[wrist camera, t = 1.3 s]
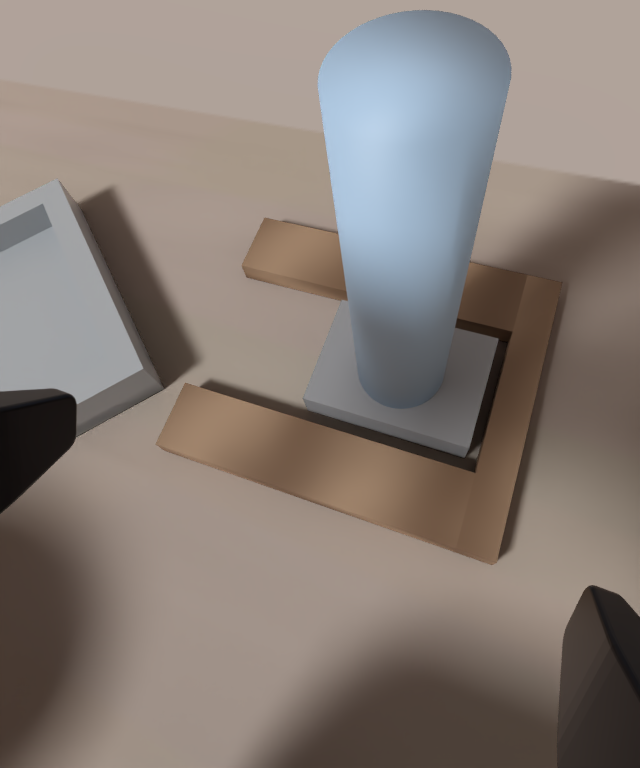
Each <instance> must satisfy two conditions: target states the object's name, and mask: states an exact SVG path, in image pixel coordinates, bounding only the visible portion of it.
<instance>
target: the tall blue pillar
mask: <svg viewBox="0 0 640 768" xmlns="http://www.w3.org/2000/svg"><path fill="white" fill-rule="evenodd" d="M510 80H511V63H510V58H509V55H508V53H507V50H506V49H505V47H504V45H503V44H502V42H501V41H500V40H499V39H498V38H497V36H496V35H494V34H493V33H492V32H491V31H490V30H489V29H487V28H486V27H484V26H483V25H481V24H479V23H477V22H475V21H473V20H471V19H468V18H466V17H463V16H460V15H457V14H453V13H448V12H442V11H431V10H415V11H405V12H399V13H394V14H389V15H386V16H382V17H379V18H376V19H374V20H371V21H369V22H367V23H364V24H362V25H360V26H359V27H357V28H355V29H354V30H352V31H350V32H349V33H348V34H346V35H345V36H344V37H342V38H341V39H340V40H339V41H338V42H337V43H336V44H335V45H334V46H333V47H332V49H331V50H330V51H329V52H328V54H327V55H326V57H325V59H324V61H323V63H322V65H321V68H320V71H319V76H318V92H319V99H320V106H321V113H322V120H323V127H324V135H325V142H326V149H327V156H328V163H329V170H330V177H331V184H332V191H333V198H334V206H335V213H336V220H337V227H338V234H339V241H340V248H341V255H342V262H343V269H344V277H345V284H346V291H347V298H348V301H345V300H341V303H340V305H339V308H338V310H337V313H336V316H335V318H334V321H333V323H332V326H331V328H330V331H329V333H328V336H327V338H326V341H325V343H324V346H323V348H322V351H321V354H320V356H319V359H318V361H317V364H316V366H315V369H314V371H313V374H312V376H311V379H310V381H309V384H308V386H307V389H306V392H305V394H304V397H303V400H304V402H305V405H306V407H307V409H308V411H311V412H315V413H318V414H321V415H324V416H328V417H331V418H334V419H338V420H341V421H344V422H347V423H351V424H354V425H357V426H360V427H364V428H367V429H370V430H373V431H377V432H380V433H383V434H387V435H390V436H393V437H396V438H400V439H403V440H406V441H409V442H413V443H416V444H419V445H423V446H426V447H429V448H432V449H436V450H439V451H442V452H445V453H449V454H452V455H455V456H458V457H462V458H465V456H466V454H467V452H468V450H469V447H470V443H471V440H472V436H473V432H474V429H475V425H476V421H477V417H478V414H479V410H480V406H481V403H482V399H483V395H484V392H485V388H486V384H487V381H488V377H489V373H490V369H491V366H492V362H493V358H494V355H495V351H496V347H497V344H498V340H499V339H498V338H494V337H490V336H486V335H482V334H478V333H474V332H470V331H466V330H462V329H458V328H455V325H456V320H457V316H458V311H459V307H460V302H461V298H462V294H463V289H464V285H465V280H466V276H467V271H468V267H469V262H470V258H471V254H472V249H473V245H474V240H475V236H476V231H477V227H478V222H479V218H480V213H481V209H482V205H483V200H484V196H485V191H486V187H487V182H488V178H489V173H490V169H491V165H492V160H493V156H494V151H495V147H496V142H497V138H498V133H499V129H500V124H501V120H502V116H503V111H504V107H505V102H506V98H507V93H508V88H509V84H510Z"/></svg>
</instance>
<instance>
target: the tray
mask: <svg viewBox="0 0 640 768" xmlns="http://www.w3.org/2000/svg"><path fill="white" fill-rule="evenodd" d="M48 388H54V389H58V390H61V391H64V392H66V393H69V394H71V395H73V396H74V397H75V399H76V402H77V433H76V437H77V436H79V435H81V434H82V433H84V432H86V431H88V430H90V429H92V428H93V427H95V426H97V425H99V424H101V423H103V422H104V421H106V420H108V419H110V418H112V417H114V416H115V415H117V414H119V413H121V412H123V411H125V410H126V409H128V408H130V407H132V406H134V405H136V404H137V403H139V402H141V401H143V400H145V399H147V398H148V397H150V396H152V395H154V394H156V393H158V392H159V391H161V390H163V389H164V387H163V385H162V383H161V381H160V379H159V377H158V374H157V372H156V370H155V368H154V366H153V364H152V361H151V359H150V357H149V355H148V353H147V351H146V348H145V346H144V344H143V342H142V340H141V338H140V336H139V333H138V331H137V329H136V327H135V325H134V323H133V320H132V318H131V316H130V314H129V312H128V310H127V307H126V305H125V303H124V301H123V299H122V297H121V294H120V292H119V290H118V288H117V286H116V284H115V282H114V279H113V277H112V275H111V273H110V271H109V269H108V266H107V264H106V262H105V260H104V258H103V256H102V253H101V251H100V249H99V247H98V245H97V243H96V240H95V238H94V236H93V234H92V232H91V230H90V228H89V225H88V223H87V221H86V219H85V217H84V215H83V212H82V210H81V208H80V207H79V206H78V204H77V203H76V202H75V200H74V199H73V198H72V197H71V195H70V194H69V193H68V191H67V190H66V189H65V187H64V186H63V185H62V184H61V182H60V181H59V180H58V178H57V179H55V180H53V181H51V182H49V183H47V184H45V185H43V186H41V187H39V188H37V189H35V190H33V191H31V192H29V193H27V194H25V195H23V196H21V197H19V198H17V199H15V200H13V201H11V202H9V203H6V204H4V205H2V206H0V391H16V390H32V389H48Z"/></svg>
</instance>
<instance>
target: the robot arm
mask: <svg viewBox="0 0 640 768" xmlns="http://www.w3.org/2000/svg"><path fill="white" fill-rule="evenodd" d="M76 433H77V402H76V399H75V397H74V396H73V395H71V394H69V393H66V392H64V391H61V390H58V389H54V388H48V389H32V390H16V391H0V514H1V513H2V512H3V511H4V510H5V509H7V508H8V507H9V506H10V505H11V504H12V503H14V502H15V501H16V500H17V499H18V498H19V497H20V496H21V495H22V494H23V493H24V492H25V491H26V490H27V489H28V488H29V487H30V486H31V485H33V484H34V483H35V482H36V481H37V480H38V479H39V478H40V477H41V476H42V475H43V474H44V473H45V472H46V471H47V470H48V469H49V468H50V467H51V466H52V465H53V464H54V463H55V462H56V461H57V460H58V459H59V458H60V457H61V456H62V455H64V454H65V453H66V452H67V451H68V450H69V449H70V448H71V446H72V445H73V443H74V441H75V439H76ZM557 761H558V768H640V617H639V616H638V615H637V613H636V612H635V611H634V610H633V609H632V608H631V607H630V605H629V604H628V603H627V602H626V601H625V600H624V599H623V598H622V597H621V596H620V595H619V594H617V593H614V592H611V591H608V590H606V589H603V588H600V587H597V586H594V585H591V586H588V587H587V588H586V589H585V590H584V592H583V594H582V596H581V598H580V600H579V602H578V604H577V606H576V608H575V610H574V612H573V614H572V616H571V618H570V620H569V622H568V624H567V627H566V629H565V633H564V637H563V646H562V663H561V680H560V697H559V714H558V732H557Z"/></svg>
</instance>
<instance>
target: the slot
mask: <svg viewBox="0 0 640 768" xmlns="http://www.w3.org/2000/svg"><path fill="white" fill-rule="evenodd" d="M242 268H243V270H244V272H245V275H246V277H248V278H252V279H256V280H260V281H264V282H268V283H272V284H276V285H280V286H284V287H288V288H292V289H296V290H300V291H304V292H308V293H312V294H316V295H320V296H324V297H328V298H332V299H336V300H340V301H341V300H345V301H348V298H347V291H346V284H345V277H344V269H343V262H342V255H341V248H340V241H339V234H337V233H333V232H328V231H323V230H319V229H314V228H310V227H305V226H300V225H296V224H291V223H287V222H282V221H277V220H273V219H268V218H264V220H263V222H262V224H261V226H260V228H259V230H258V232H257V235H256V237H255V239H254V241H253V243H252V245H251V247H250V249H249V251H248V253H247V255H246V257H245V259H244V262H243V264H242ZM561 286H562V282H558V281H554V280H549V279H545V278H540V277H535V276H531V275H526V274H521V273H517V272H512V271H508V270H503V269H498V268H494V267H489V266H485V265H480V264H475V263H471V262H469V267H468V271H467V276H466V280H465V285H464V289H463V294H462V298H461V302H460V307H459V311H458V316H457V320H456V325H455V328H458V329H462V330H466V331H470V332H474V333H478V334H482V335H486V336H490V337H494V338H498V339H499V340H501V341H505V342H508V344H507V348H506V352H505V356H504V360H503V363H502V367H501V371H500V375H499V379H498V382H497V386H496V390H495V394H494V397H493V401H492V405H491V409H490V413H489V416H488V420H487V424H486V428H485V432H484V435H483V439H482V443H481V447H480V451H479V454H478V458H477V462H476V466H475V470H474V472H470V471H467V470H464V469H461V468H458V467H454V466H451V465H448V464H445V463H442V462H438V461H435V460H432V459H429V458H425V457H422V456H419V455H416V454H413V453H409V452H406V451H403V450H400V449H397V448H393V447H390V446H387V445H384V444H380V443H377V442H374V441H371V440H368V439H364V438H361V437H358V436H355V435H352V434H348V433H345V432H342V431H339V430H335V429H332V428H329V427H326V426H323V425H319V424H316V423H313V422H310V421H306V420H303V419H300V418H297V417H294V416H290V415H287V414H284V413H281V412H278V411H274V410H271V409H268V408H265V407H261V406H258V405H255V404H252V403H249V402H245V401H242V400H239V399H236V398H233V397H229V396H226V395H223V394H220V393H216V392H213V391H210V390H207V389H204V388H200V387H197V386H194V385H191V384H188V383H185V384H184V386H183V388H182V390H181V392H180V395H179V397H178V399H177V401H176V403H175V405H174V407H173V409H172V411H171V413H170V415H169V417H168V419H167V422H166V424H165V426H164V428H163V430H162V432H161V434H160V436H159V438H158V440H157V442H156V445H157V446H159V447H160V448H162V449H163V450H165V451H167V452H170V453H173V454H176V455H179V456H182V457H185V458H187V459H190V460H193V461H196V462H199V463H202V464H205V465H207V466H210V467H213V468H216V469H219V470H222V471H225V472H227V473H230V474H233V475H236V476H239V477H242V478H245V479H247V480H250V481H253V482H256V483H259V484H262V485H265V486H268V487H270V488H273V489H276V490H279V491H282V492H285V493H288V494H290V495H293V496H296V497H299V498H302V499H305V500H308V501H310V502H313V503H316V504H319V505H322V506H325V507H328V508H330V509H333V510H336V511H339V512H342V513H345V514H348V515H350V516H353V517H356V518H359V519H362V520H365V521H368V522H370V523H373V524H376V525H379V526H382V527H385V528H388V529H391V530H393V531H396V532H399V533H402V534H405V535H408V536H411V537H413V538H416V539H419V540H422V541H425V542H428V543H431V544H433V545H436V546H439V547H442V548H445V549H448V550H451V551H453V552H456V553H459V554H462V555H465V556H468V557H471V558H473V559H476V560H479V561H482V562H485V563H488V564H491V565H493V564H495V563H497V559H498V555H499V550H500V546H501V542H502V538H503V533H504V529H505V525H506V521H507V516H508V512H509V508H510V504H511V499H512V495H513V491H514V487H515V482H516V478H517V474H518V470H519V465H520V461H521V457H522V452H523V448H524V444H525V440H526V435H527V431H528V427H529V423H530V418H531V414H532V410H533V406H534V401H535V397H536V393H537V389H538V384H539V380H540V376H541V372H542V367H543V363H544V359H545V354H546V350H547V346H548V342H549V337H550V333H551V329H552V325H553V320H554V316H555V312H556V308H557V303H558V299H559V295H560V291H561Z"/></svg>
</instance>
